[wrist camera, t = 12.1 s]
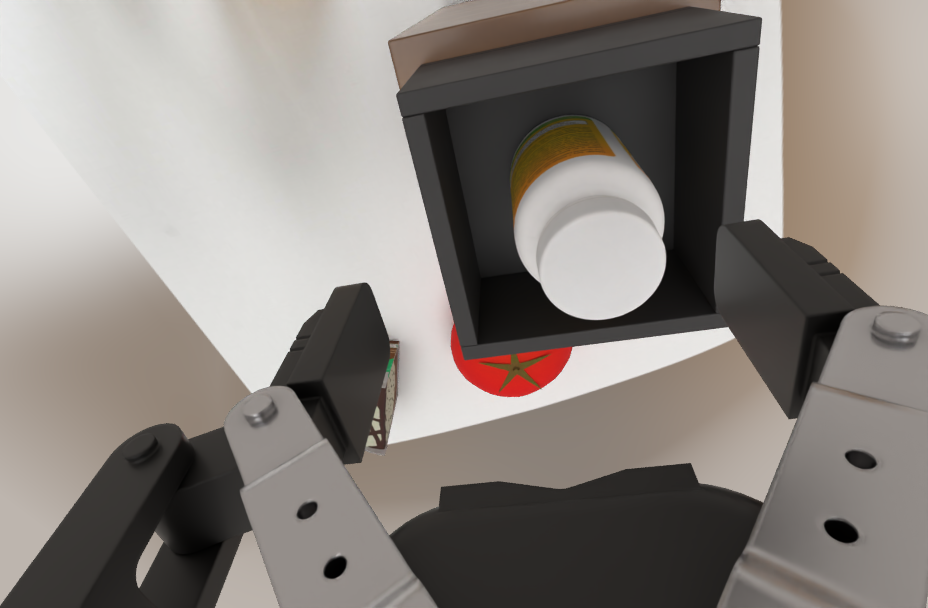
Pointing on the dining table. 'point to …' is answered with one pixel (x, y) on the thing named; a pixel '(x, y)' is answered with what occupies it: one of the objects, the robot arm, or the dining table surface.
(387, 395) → the food container
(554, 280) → the supplement bottle
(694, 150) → the dark grey open box
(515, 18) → the stand
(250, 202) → the dining table surface
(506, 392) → the tomato
